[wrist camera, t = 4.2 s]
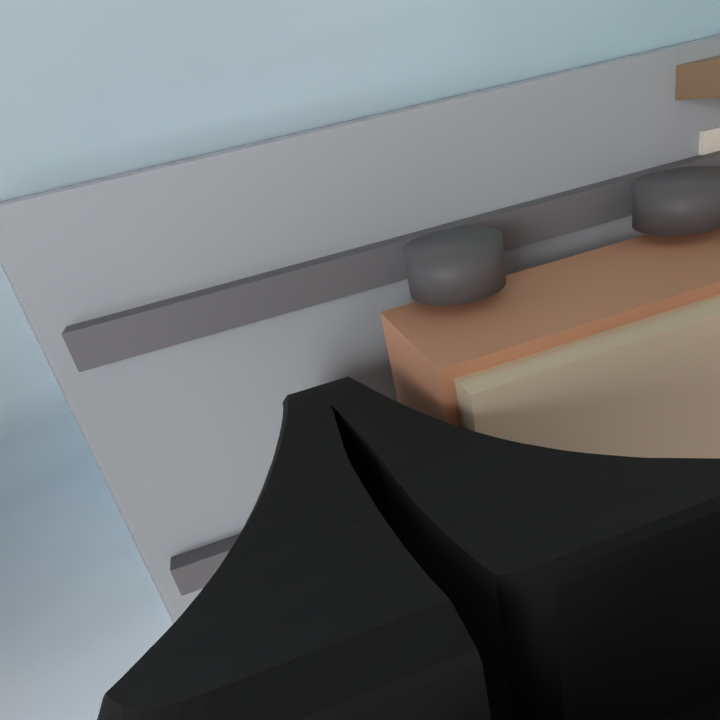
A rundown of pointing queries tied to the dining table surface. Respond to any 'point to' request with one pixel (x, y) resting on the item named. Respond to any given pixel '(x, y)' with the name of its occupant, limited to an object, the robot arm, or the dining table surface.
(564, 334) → the cart
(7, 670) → the dining table surface
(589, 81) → the dock
